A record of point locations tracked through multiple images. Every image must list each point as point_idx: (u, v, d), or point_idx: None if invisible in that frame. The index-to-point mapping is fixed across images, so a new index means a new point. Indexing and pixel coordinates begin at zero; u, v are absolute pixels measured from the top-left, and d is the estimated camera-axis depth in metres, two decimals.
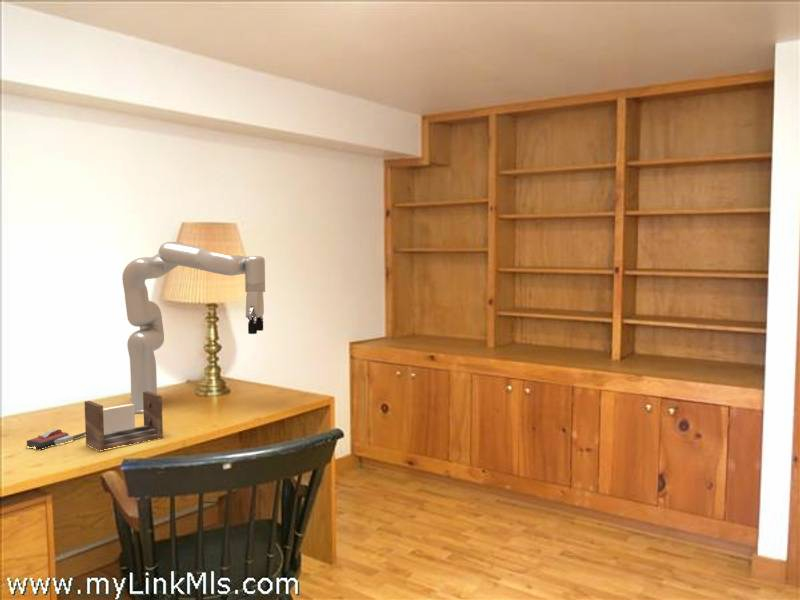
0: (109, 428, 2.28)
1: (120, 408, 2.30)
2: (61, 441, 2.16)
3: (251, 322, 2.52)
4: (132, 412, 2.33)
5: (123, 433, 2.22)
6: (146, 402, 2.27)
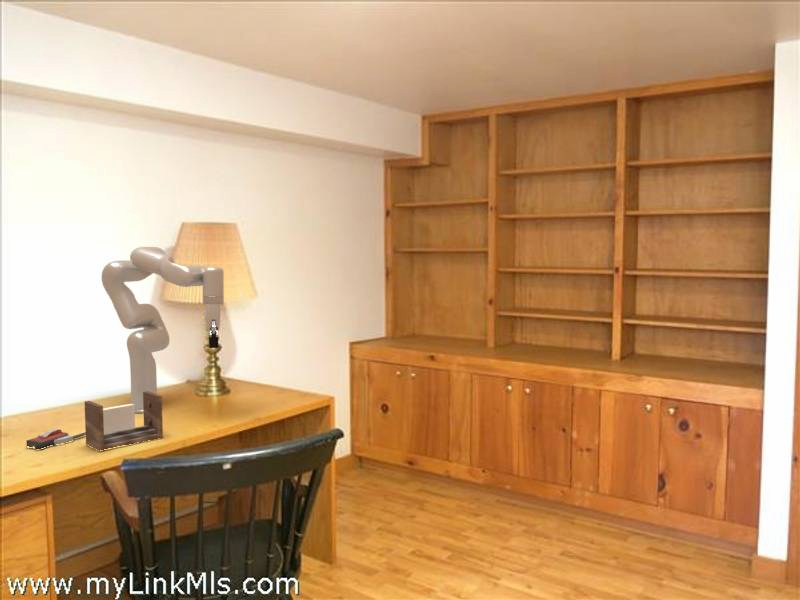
0: (109, 428, 2.28)
1: (120, 408, 2.30)
2: (61, 441, 2.16)
3: (213, 336, 2.43)
4: (132, 412, 2.33)
5: (123, 433, 2.22)
6: (146, 402, 2.27)
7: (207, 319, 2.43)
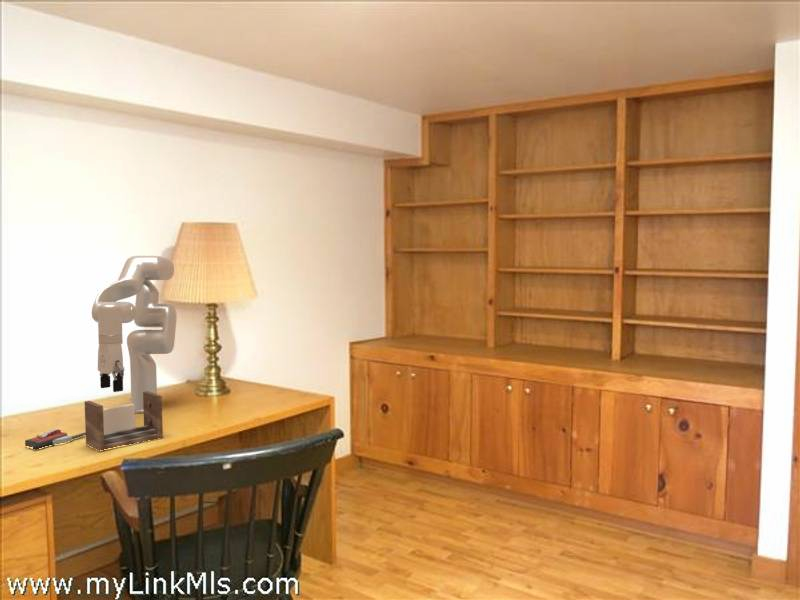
0: (109, 428, 2.28)
1: (120, 408, 2.30)
2: (59, 441, 2.16)
3: (119, 378, 2.24)
4: (132, 413, 2.33)
5: (123, 433, 2.22)
6: (146, 402, 2.27)
7: (110, 361, 2.23)
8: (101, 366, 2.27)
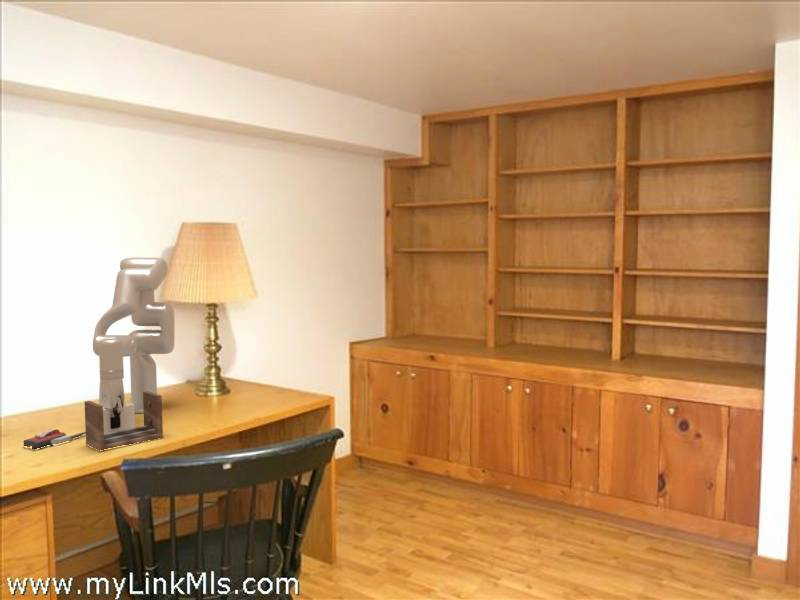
0: (109, 427, 2.28)
1: None
2: (58, 441, 2.16)
3: (116, 417, 2.28)
4: (132, 412, 2.33)
5: (123, 433, 2.22)
6: (146, 402, 2.27)
7: (112, 396, 2.24)
8: (103, 401, 2.28)
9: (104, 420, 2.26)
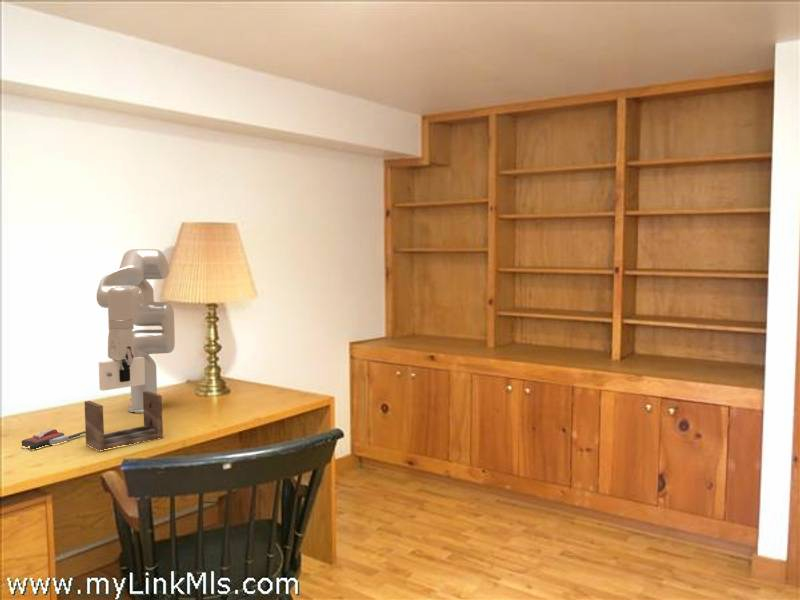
0: (118, 380, 2.16)
1: None
2: (56, 441, 2.16)
3: (126, 369, 2.16)
4: (142, 366, 2.22)
5: (123, 433, 2.22)
6: (146, 402, 2.27)
7: (121, 347, 2.13)
8: (111, 352, 2.17)
9: (113, 372, 2.15)
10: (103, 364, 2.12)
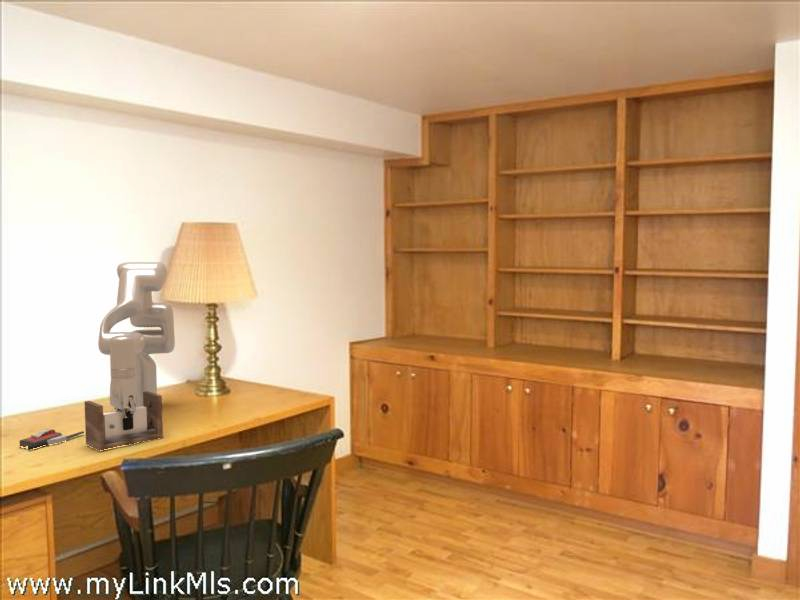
0: (120, 431, 2.17)
1: None
2: (54, 441, 2.16)
3: (129, 417, 2.17)
4: (144, 415, 2.23)
5: None
6: (146, 402, 2.27)
7: (123, 396, 2.14)
8: (113, 401, 2.18)
9: (115, 424, 2.16)
10: (105, 416, 2.14)
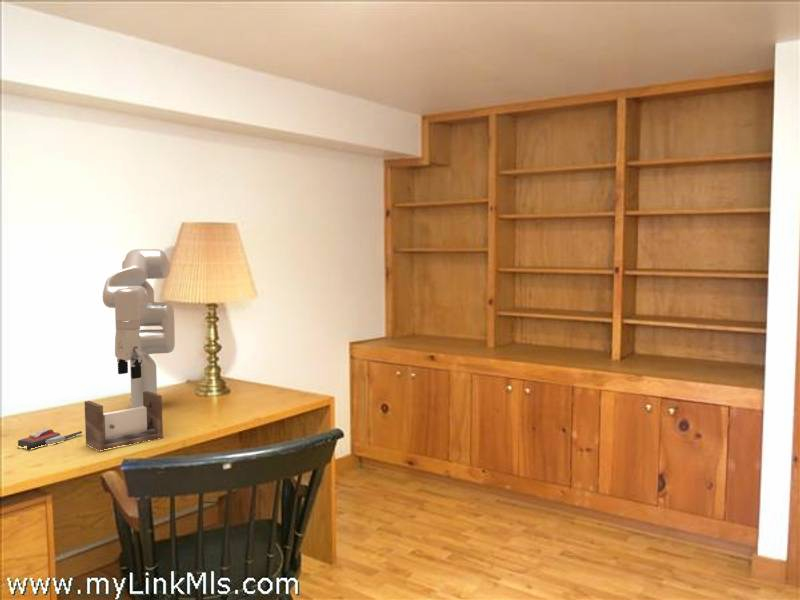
0: (120, 431, 2.17)
1: (132, 411, 2.20)
2: (52, 441, 2.16)
3: (137, 365, 2.18)
4: (144, 415, 2.23)
5: None
6: (146, 402, 2.27)
7: (128, 347, 2.17)
8: (119, 352, 2.21)
9: (115, 424, 2.16)
10: (106, 416, 2.13)
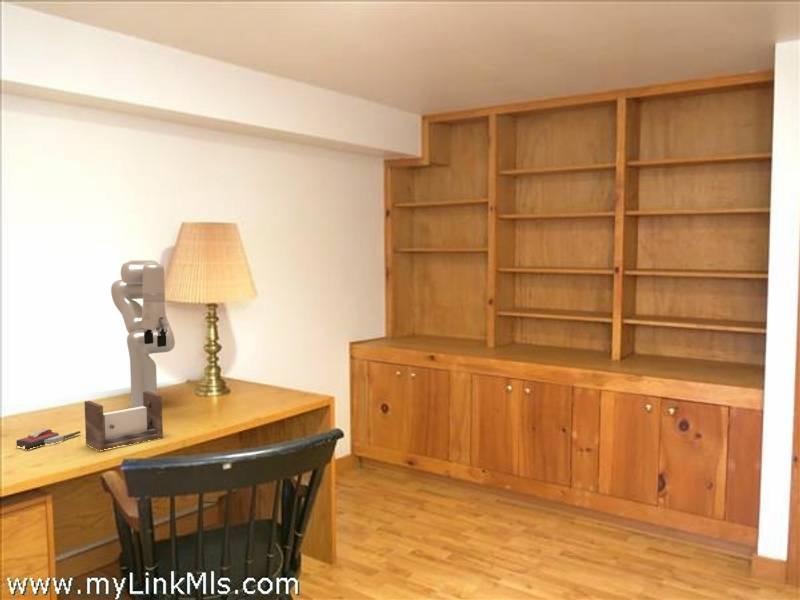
0: (120, 431, 2.17)
1: (132, 411, 2.20)
2: (51, 441, 2.16)
3: (163, 334, 2.39)
4: (144, 415, 2.23)
5: None
6: (146, 402, 2.27)
7: (155, 317, 2.38)
8: (145, 323, 2.42)
9: (115, 424, 2.16)
10: (106, 416, 2.13)
